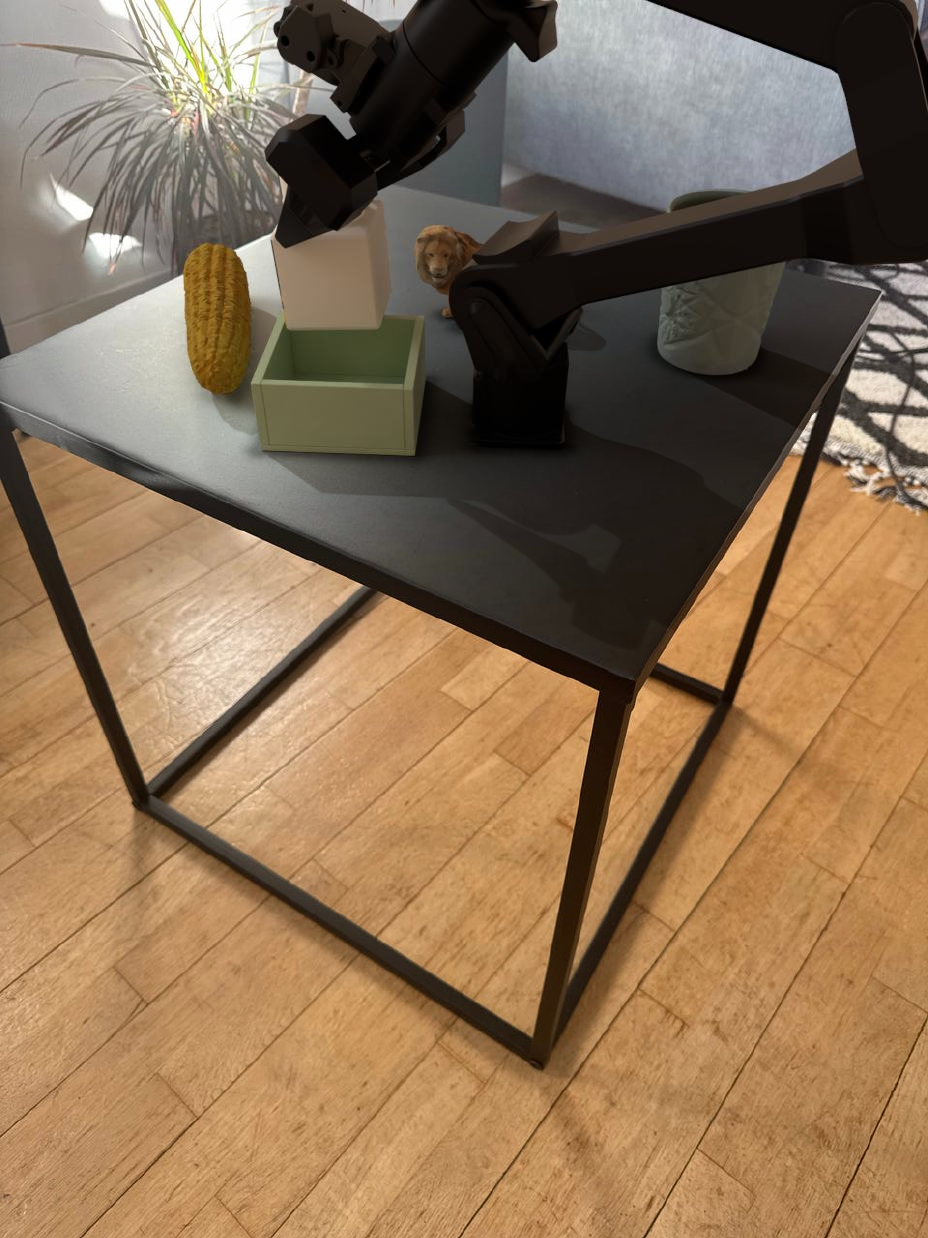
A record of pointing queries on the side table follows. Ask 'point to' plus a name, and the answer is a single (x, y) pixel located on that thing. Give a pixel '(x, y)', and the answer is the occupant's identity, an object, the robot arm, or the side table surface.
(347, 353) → the bin
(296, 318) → the medicine bottle
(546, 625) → the side table surface
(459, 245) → the lion figurine
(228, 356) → the food
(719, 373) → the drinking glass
